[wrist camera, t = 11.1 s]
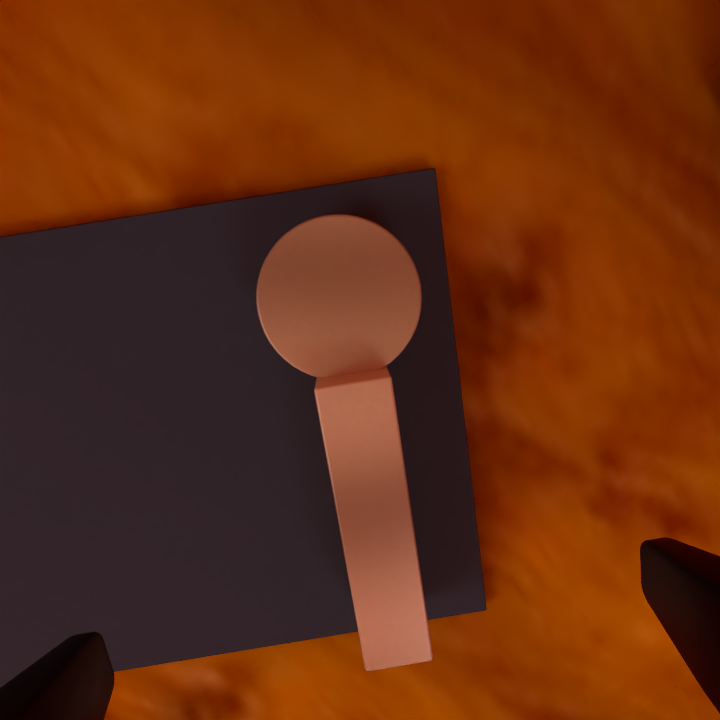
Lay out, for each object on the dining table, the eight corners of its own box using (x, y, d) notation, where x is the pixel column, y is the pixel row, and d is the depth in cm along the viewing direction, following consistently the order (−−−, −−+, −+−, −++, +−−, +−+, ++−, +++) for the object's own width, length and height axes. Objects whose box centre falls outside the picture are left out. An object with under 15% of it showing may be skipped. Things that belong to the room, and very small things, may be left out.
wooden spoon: (454, 595, 18) (473, 654, 16) (327, 616, 18) (325, 679, 16) (402, 207, 15) (416, 196, 13) (251, 231, 15) (232, 226, 13)
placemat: (-82, 696, 19) (-91, 705, 18) (-257, 279, 15) (-272, 279, 15) (483, 603, 19) (487, 610, 19) (433, 169, 16) (435, 167, 15)
